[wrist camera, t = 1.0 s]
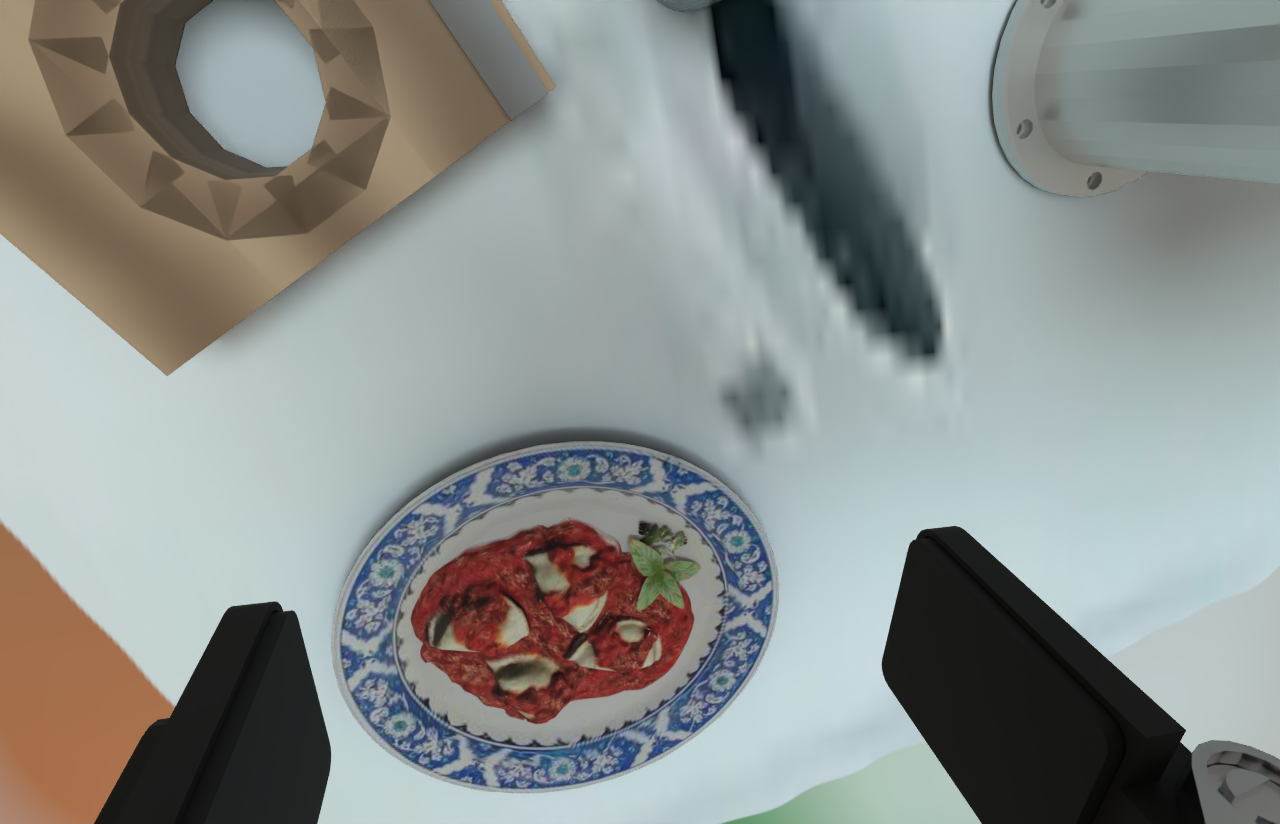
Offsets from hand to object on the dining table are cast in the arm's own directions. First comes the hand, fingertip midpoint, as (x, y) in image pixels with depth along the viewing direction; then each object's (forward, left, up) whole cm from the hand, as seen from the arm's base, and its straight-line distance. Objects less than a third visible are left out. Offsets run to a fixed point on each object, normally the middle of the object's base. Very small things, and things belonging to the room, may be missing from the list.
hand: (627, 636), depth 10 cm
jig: (+4, -12, -24) cm, 27 cm away
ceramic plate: (+11, +18, -24) cm, 32 cm away
